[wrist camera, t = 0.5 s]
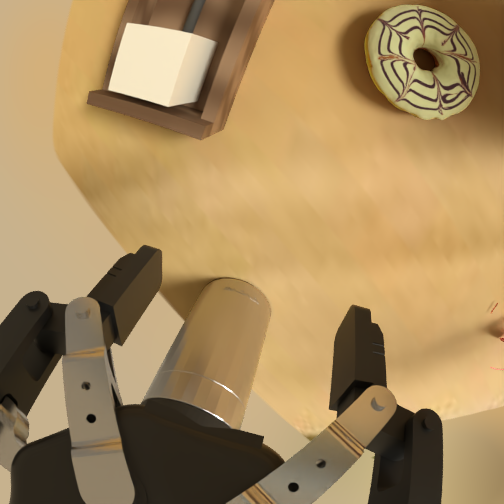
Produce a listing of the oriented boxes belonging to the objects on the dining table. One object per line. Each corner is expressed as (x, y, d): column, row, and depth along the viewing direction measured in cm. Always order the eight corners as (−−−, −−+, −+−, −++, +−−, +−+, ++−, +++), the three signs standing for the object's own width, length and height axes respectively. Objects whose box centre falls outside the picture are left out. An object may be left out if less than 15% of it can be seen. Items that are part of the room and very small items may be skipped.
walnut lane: (223, 129, 28) (200, 140, 23) (122, 97, 28) (86, 103, 23) (297, -49, 17) (290, -76, 12) (182, -66, 17) (156, -87, 12)
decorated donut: (474, 116, 22) (492, 122, 18) (373, 119, 25) (381, 123, 21) (456, 14, 17) (473, 8, 14) (351, 12, 20) (355, 2, 17)
